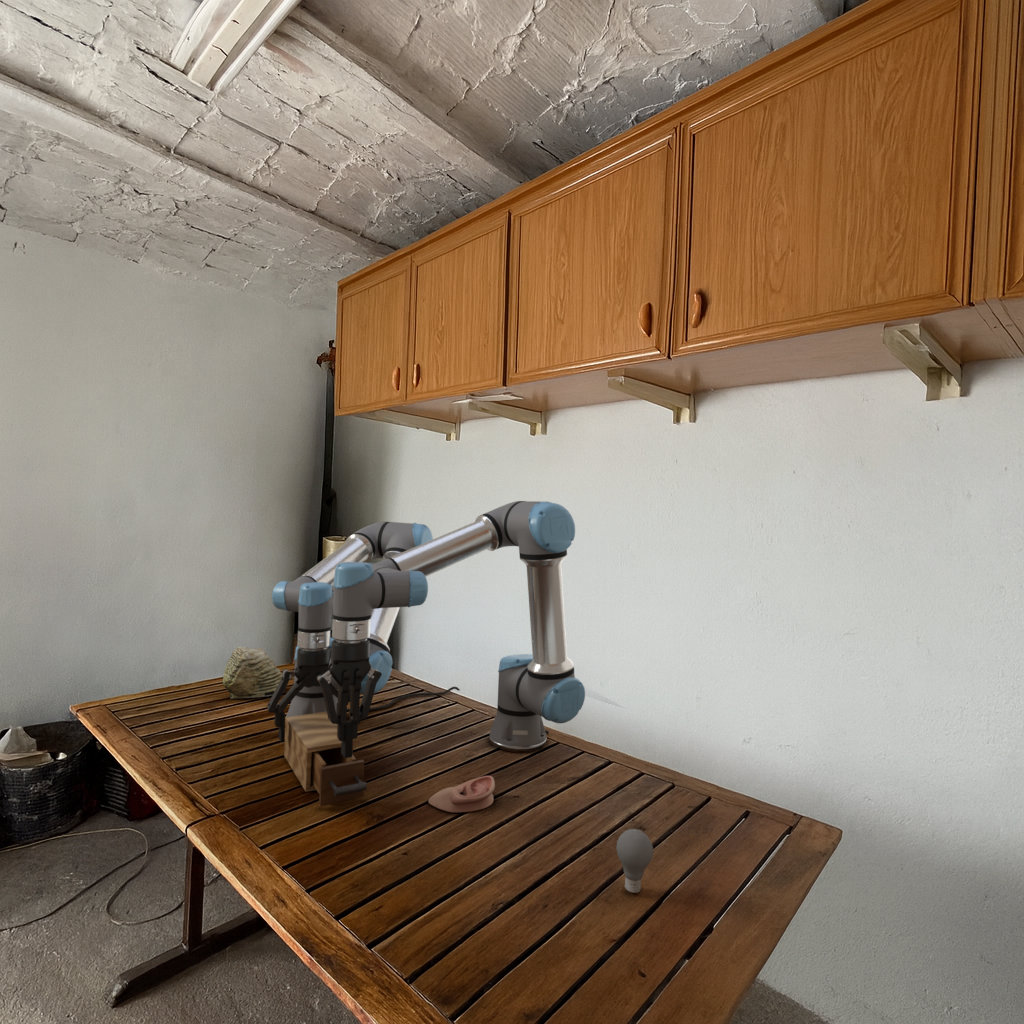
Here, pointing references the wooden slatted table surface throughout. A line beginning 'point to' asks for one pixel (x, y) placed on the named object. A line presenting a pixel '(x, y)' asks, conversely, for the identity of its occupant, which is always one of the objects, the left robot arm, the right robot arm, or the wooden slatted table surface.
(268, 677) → the fossil
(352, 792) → the drawer
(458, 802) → the anatomical model
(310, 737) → the cabinet
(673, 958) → the wooden slatted table surface
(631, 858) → the light bulb
